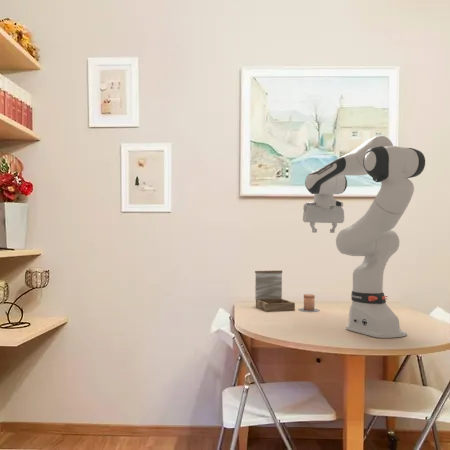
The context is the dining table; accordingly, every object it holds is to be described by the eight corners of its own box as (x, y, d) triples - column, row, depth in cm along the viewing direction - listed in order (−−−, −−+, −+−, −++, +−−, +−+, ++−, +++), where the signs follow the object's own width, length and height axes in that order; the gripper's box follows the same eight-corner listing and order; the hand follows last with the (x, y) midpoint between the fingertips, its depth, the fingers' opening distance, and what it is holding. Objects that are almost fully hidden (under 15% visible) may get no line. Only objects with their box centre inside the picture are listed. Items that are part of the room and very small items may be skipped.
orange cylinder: (316, 310, 193) (316, 295, 193) (306, 311, 192) (307, 295, 192) (311, 308, 198) (311, 294, 198) (301, 309, 197) (301, 294, 197)
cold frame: (295, 311, 194) (295, 273, 194) (266, 312, 189) (267, 273, 190) (281, 306, 208) (281, 270, 208) (254, 307, 203) (255, 270, 204)
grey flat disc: (324, 312, 192) (324, 311, 192) (304, 313, 189) (304, 312, 189) (312, 308, 201) (312, 307, 201) (294, 309, 198) (294, 308, 198)
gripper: (307, 201, 186) (306, 232, 185) (346, 203, 192) (346, 232, 192) (300, 202, 192) (300, 232, 191) (338, 204, 198) (338, 233, 198)
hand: (323, 232), depth 191 cm, fingers open, 8 cm apart
